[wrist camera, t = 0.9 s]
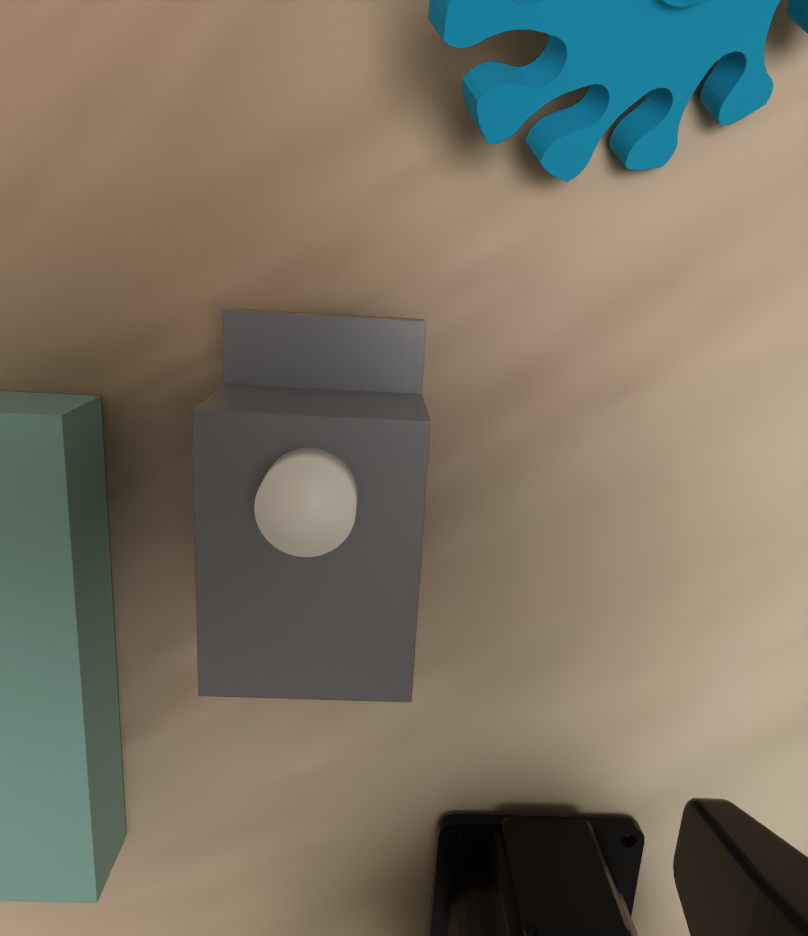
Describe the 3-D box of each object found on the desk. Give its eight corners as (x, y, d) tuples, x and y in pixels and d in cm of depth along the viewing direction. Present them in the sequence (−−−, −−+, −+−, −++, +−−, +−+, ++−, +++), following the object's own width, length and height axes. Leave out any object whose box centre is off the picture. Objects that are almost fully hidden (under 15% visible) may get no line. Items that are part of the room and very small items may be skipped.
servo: (399, 631, 22) (408, 800, 15) (248, 625, 21) (187, 795, 15) (418, 311, 19) (440, 340, 12) (247, 302, 19) (175, 327, 12)
